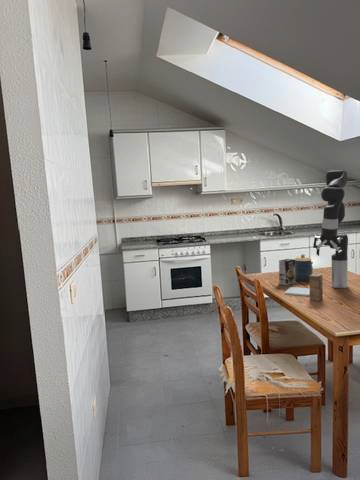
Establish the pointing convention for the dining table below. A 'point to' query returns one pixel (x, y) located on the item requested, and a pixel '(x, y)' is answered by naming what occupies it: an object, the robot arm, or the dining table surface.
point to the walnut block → (316, 287)
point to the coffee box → (287, 271)
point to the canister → (303, 268)
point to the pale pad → (298, 291)
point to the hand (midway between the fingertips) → (326, 256)
